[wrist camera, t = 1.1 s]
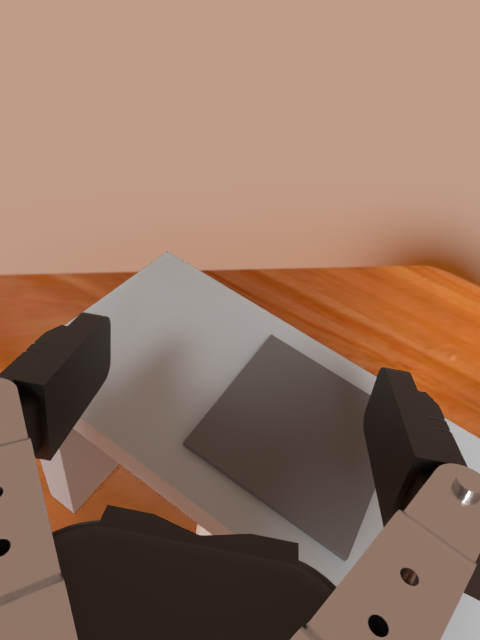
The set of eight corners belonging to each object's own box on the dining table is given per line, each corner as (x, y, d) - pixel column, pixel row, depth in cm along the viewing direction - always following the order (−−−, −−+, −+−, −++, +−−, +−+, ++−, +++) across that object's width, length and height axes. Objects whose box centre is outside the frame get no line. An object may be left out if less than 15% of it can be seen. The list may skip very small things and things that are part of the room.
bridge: (51, 495, 28) (10, 364, 17) (152, 391, 34) (167, 251, 24) (354, 745, 23) (558, 778, 12) (405, 569, 29) (567, 491, 19)
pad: (182, 445, 16) (183, 441, 16) (269, 338, 21) (271, 334, 21) (344, 561, 15) (347, 559, 15) (400, 418, 19) (403, 415, 19)
